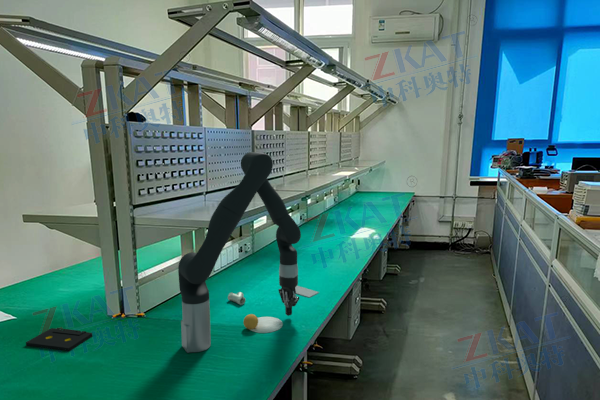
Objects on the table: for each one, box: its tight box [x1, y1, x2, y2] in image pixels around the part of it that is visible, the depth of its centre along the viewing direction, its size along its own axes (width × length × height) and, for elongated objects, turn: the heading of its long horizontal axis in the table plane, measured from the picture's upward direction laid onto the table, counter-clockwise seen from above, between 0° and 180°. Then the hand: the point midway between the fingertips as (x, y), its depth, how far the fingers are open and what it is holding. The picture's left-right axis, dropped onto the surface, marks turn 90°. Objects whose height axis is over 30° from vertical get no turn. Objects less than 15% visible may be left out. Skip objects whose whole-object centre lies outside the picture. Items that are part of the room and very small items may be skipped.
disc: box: [248, 316, 284, 334], centre depth 161 cm, size 14×14×1 cm
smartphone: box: [295, 285, 320, 298], centre depth 196 cm, size 8×1×15 cm
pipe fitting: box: [227, 291, 246, 306], centre depth 185 cm, size 8×4×7 cm
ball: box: [243, 313, 259, 330], centre depth 157 cm, size 6×6×6 cm
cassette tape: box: [25, 327, 93, 352], centre depth 148 cm, size 18×12×2 cm, turn 78°
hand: (288, 314), depth 167 cm, fingers closed
